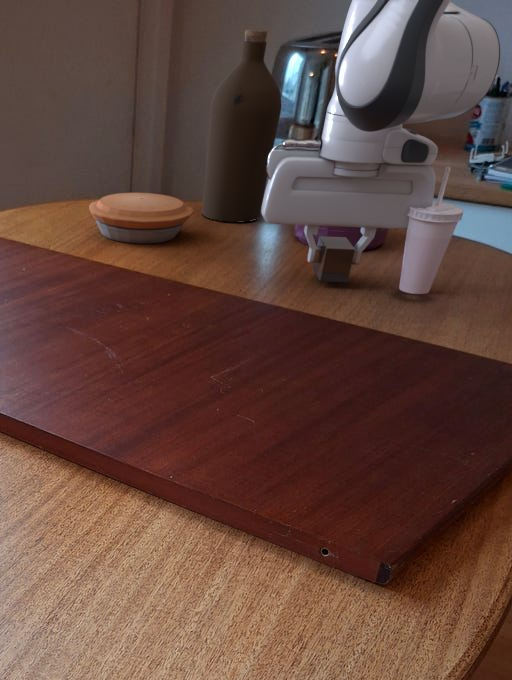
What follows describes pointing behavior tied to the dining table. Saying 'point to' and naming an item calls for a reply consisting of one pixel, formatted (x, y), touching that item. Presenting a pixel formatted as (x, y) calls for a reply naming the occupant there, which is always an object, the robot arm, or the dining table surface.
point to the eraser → (334, 259)
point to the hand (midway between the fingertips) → (332, 262)
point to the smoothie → (427, 242)
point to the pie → (140, 217)
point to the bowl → (342, 234)
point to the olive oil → (241, 136)
